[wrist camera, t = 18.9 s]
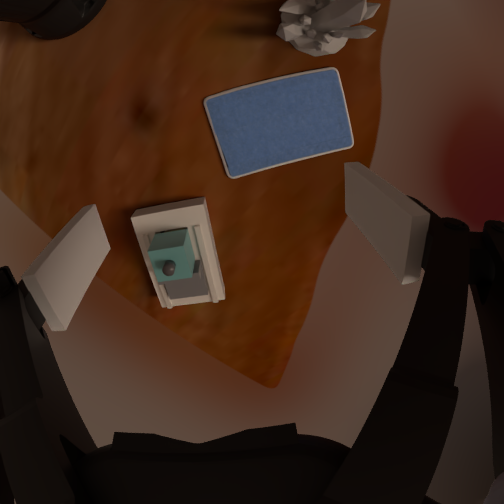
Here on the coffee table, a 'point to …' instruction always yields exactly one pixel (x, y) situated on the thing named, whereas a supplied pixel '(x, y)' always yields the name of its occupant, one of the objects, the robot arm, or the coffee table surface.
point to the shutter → (188, 284)
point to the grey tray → (202, 241)
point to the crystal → (324, 24)
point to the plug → (172, 255)
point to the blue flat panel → (279, 121)
